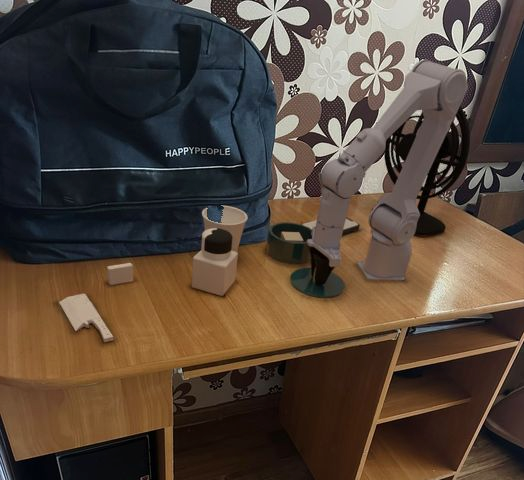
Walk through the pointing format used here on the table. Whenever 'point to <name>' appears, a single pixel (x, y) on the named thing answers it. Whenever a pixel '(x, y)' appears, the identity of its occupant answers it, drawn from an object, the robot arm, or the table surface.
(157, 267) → the table surface
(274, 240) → the canister
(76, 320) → the butcher knife
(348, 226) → the phone case
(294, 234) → the block
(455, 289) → the table surface
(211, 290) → the medicine bottle
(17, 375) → the table surface
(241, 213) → the cup
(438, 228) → the desk fan
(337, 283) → the lid
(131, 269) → the eraser
